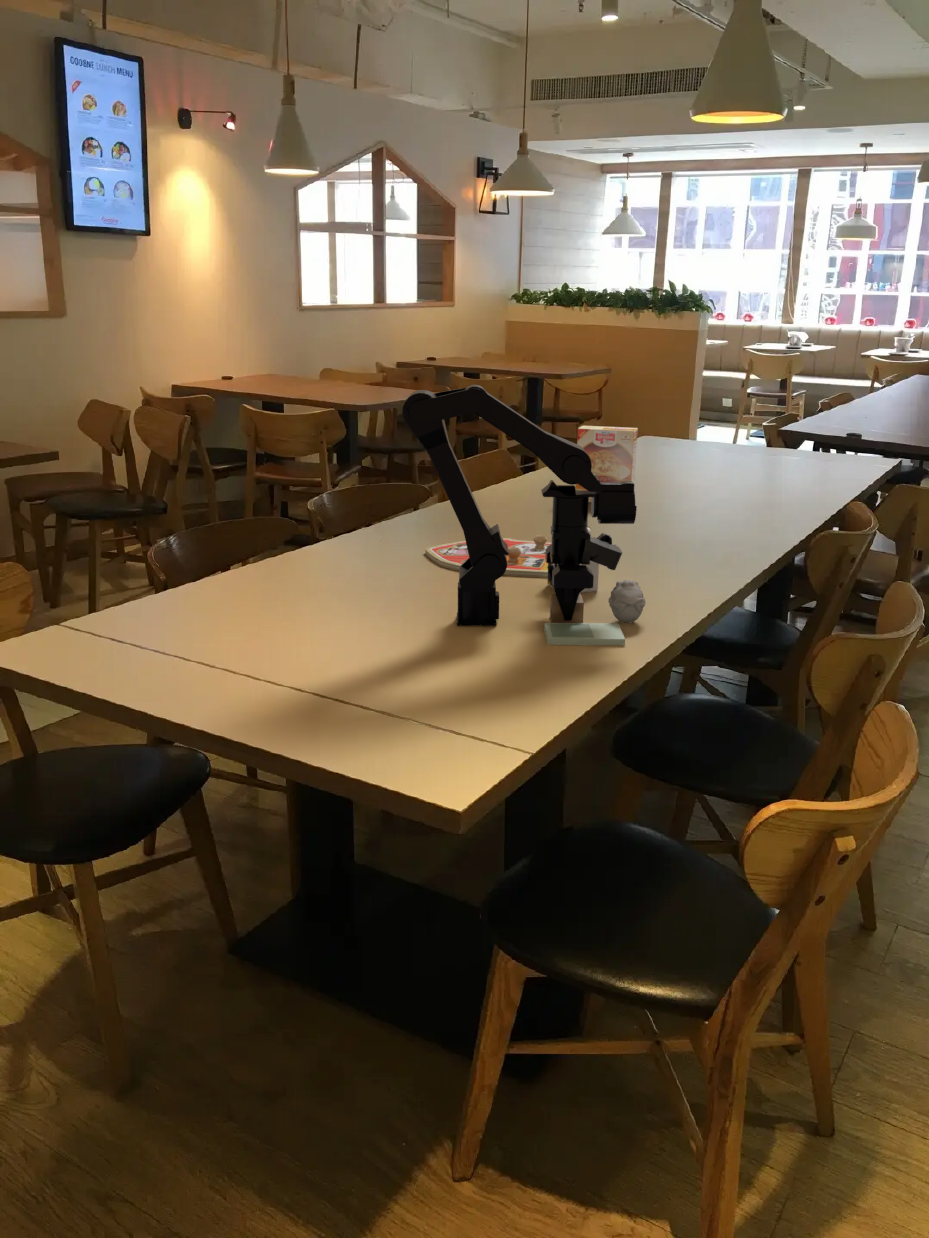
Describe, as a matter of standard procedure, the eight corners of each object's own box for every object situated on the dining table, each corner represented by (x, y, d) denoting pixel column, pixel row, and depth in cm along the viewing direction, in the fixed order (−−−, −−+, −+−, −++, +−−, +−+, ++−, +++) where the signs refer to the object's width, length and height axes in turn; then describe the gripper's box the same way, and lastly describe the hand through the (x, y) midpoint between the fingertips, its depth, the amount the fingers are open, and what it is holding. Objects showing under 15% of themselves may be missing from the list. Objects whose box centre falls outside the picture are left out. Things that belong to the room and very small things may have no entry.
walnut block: (552, 625, 163) (553, 602, 161) (550, 616, 167) (550, 594, 166) (582, 626, 163) (583, 602, 161) (579, 616, 167) (580, 594, 166)
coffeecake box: (574, 501, 264) (577, 428, 258) (579, 497, 270) (581, 425, 264) (630, 505, 260) (634, 430, 254) (634, 500, 266) (638, 427, 260)
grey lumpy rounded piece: (639, 615, 168) (642, 575, 166) (648, 628, 162) (651, 587, 160) (604, 615, 168) (606, 575, 166) (611, 628, 162) (613, 587, 159)
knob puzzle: (556, 583, 190) (557, 560, 188) (407, 574, 195) (407, 551, 194) (571, 547, 217) (572, 527, 216) (440, 540, 223) (440, 521, 221)
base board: (547, 644, 154) (547, 638, 153) (544, 628, 161) (544, 622, 161) (624, 645, 154) (625, 638, 153) (617, 628, 161) (617, 622, 161)
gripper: (628, 536, 151) (623, 633, 156) (611, 512, 169) (607, 599, 174) (555, 536, 151) (552, 633, 156) (546, 511, 169) (543, 599, 174)
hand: (566, 615), depth 165 cm, fingers closed on walnut block, 5 cm apart
